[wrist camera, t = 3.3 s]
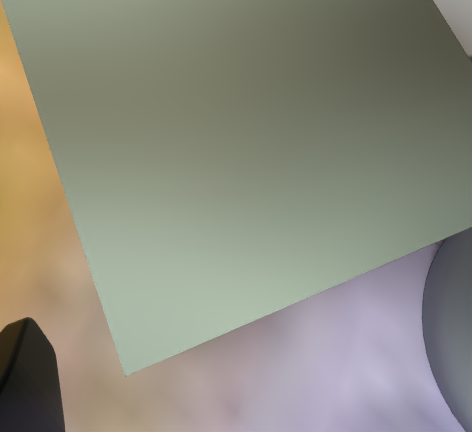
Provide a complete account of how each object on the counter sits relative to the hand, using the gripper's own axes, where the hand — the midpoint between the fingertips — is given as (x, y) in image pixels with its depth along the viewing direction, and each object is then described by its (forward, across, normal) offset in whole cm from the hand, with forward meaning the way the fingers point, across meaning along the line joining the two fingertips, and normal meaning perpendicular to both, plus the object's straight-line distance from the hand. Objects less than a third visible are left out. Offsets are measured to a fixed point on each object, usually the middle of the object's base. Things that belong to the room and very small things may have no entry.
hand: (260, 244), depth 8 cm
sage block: (+7, 0, +6) cm, 9 cm away
